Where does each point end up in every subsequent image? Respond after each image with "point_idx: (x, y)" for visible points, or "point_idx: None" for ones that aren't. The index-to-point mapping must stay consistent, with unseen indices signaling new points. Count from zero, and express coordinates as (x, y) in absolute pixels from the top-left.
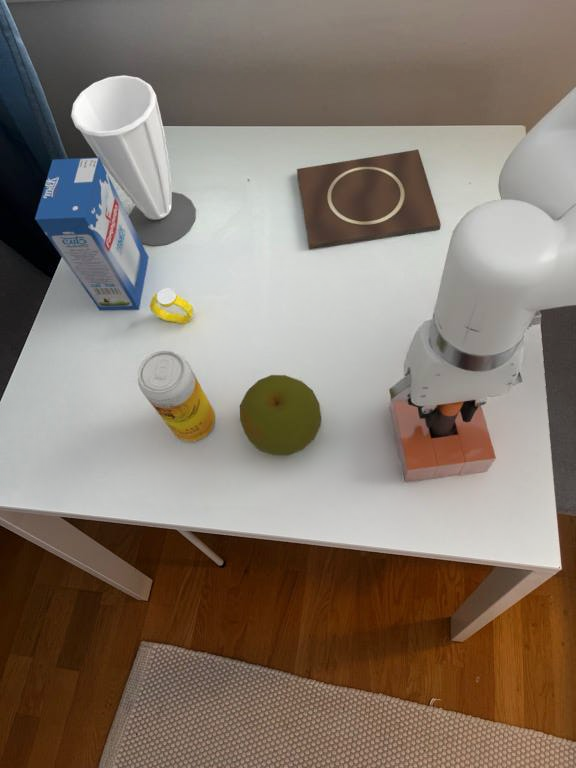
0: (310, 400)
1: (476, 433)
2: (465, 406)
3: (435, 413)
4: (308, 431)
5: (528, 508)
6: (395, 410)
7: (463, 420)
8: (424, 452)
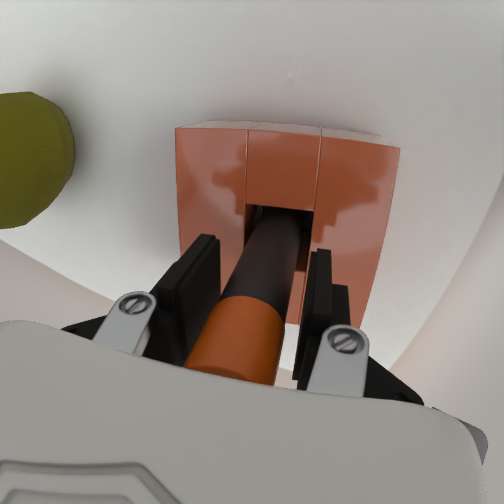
0: (2, 170)
1: (346, 280)
2: (298, 341)
3: (181, 365)
4: (21, 215)
5: (381, 342)
6: (177, 179)
7: (301, 315)
8: (222, 286)
